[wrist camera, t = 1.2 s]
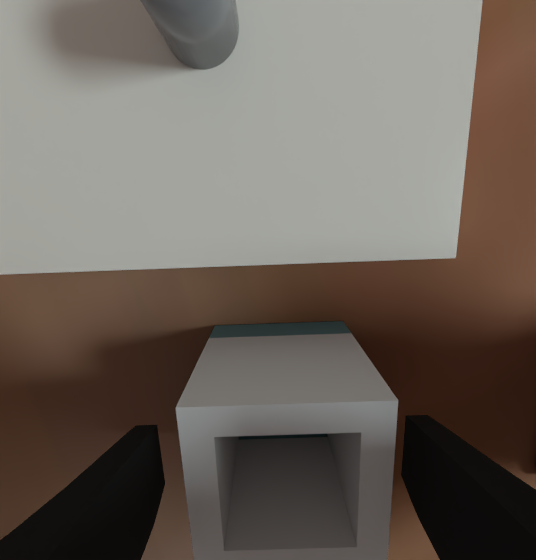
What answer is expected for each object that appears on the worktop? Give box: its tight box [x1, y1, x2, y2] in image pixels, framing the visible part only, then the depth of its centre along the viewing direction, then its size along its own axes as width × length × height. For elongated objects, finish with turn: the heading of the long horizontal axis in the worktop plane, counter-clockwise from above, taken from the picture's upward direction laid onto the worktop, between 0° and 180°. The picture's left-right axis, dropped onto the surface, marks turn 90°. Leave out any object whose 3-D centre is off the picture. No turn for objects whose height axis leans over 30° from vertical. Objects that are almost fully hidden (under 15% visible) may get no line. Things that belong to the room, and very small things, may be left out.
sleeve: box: [176, 321, 398, 560], centre depth 10 cm, size 5×5×5 cm
